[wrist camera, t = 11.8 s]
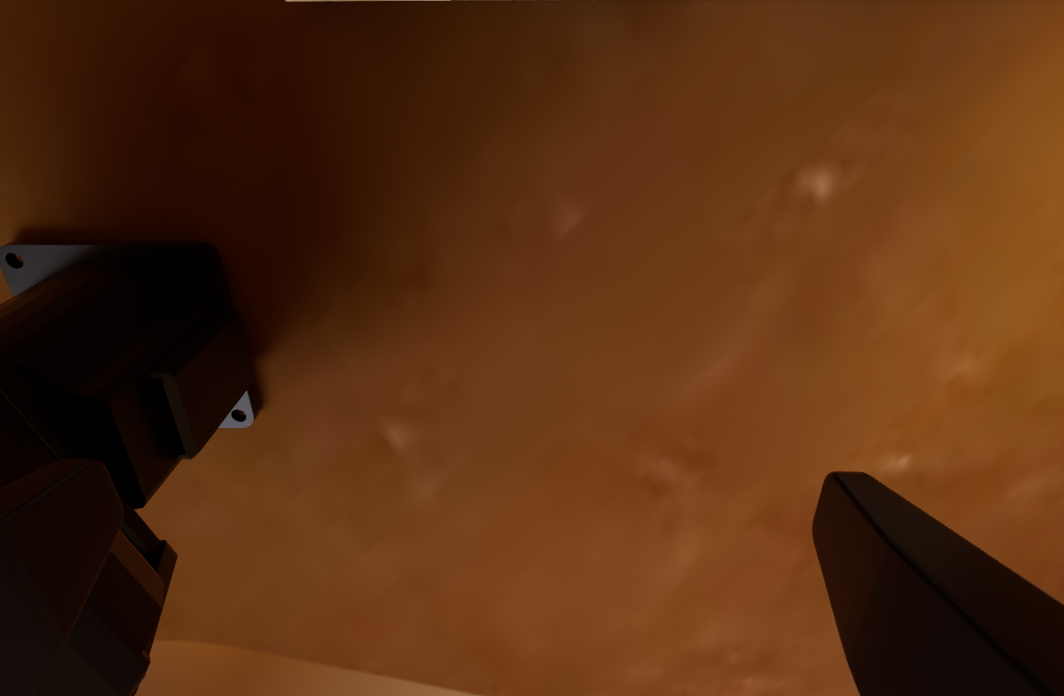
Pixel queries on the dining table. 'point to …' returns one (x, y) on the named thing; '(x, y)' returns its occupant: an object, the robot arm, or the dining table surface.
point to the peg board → (366, 0)
